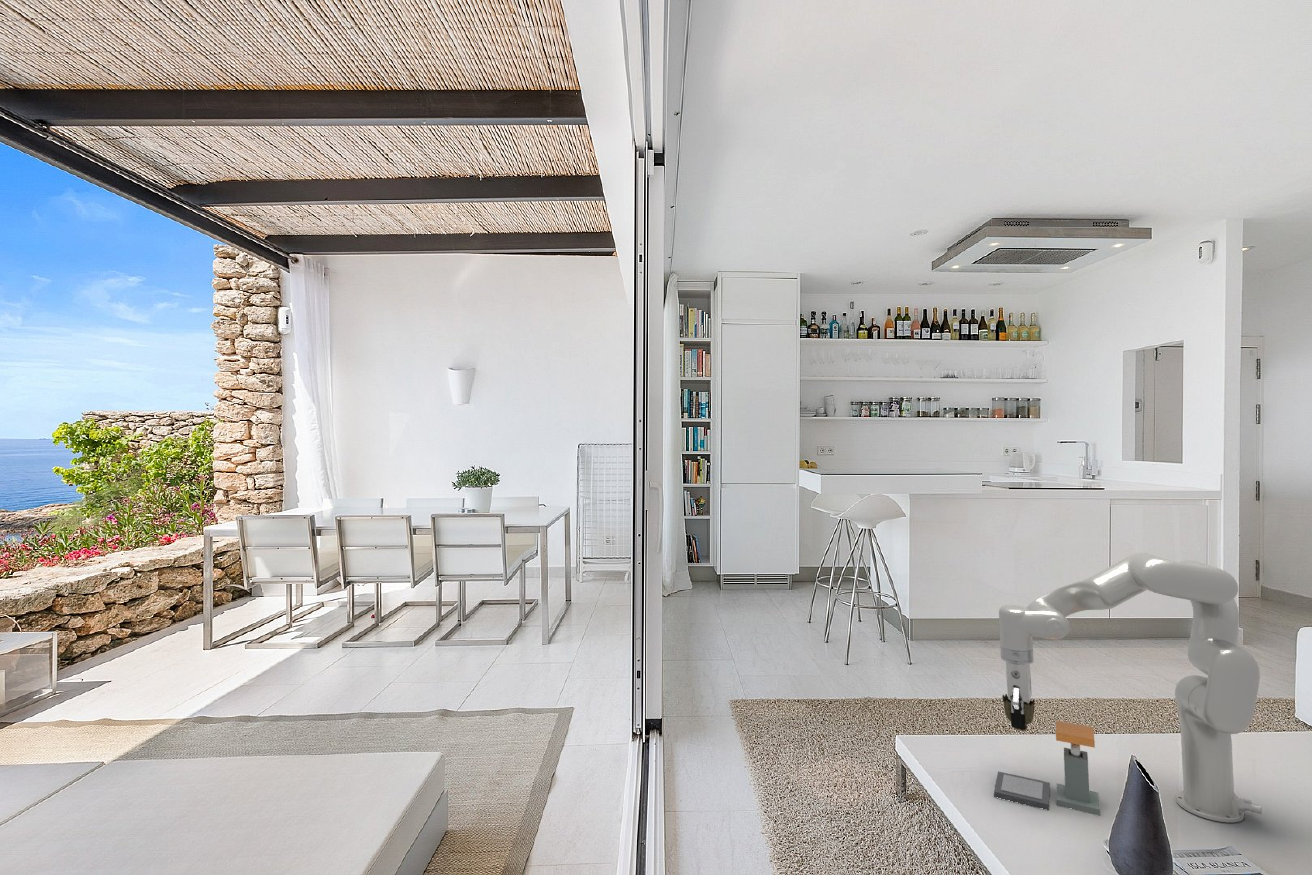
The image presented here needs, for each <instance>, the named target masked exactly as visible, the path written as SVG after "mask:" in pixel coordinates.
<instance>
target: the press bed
mask: <svg viewBox="0 0 1312 875" xmlns="http://www.w3.org/2000/svg"><path fill="white" fill-rule="evenodd" d="M994 797H998V798H1001V799H1000V800H1002V799H1005V800H1004V801H1007V800H1010V801H1009V802H1011V801H1013V802H1012V803H1015V802H1018V803H1017V804H1019V803H1020V804H1021V805H1023V804H1026V805H1025V806H1028V805H1029V806H1028V807H1032V806H1033V808H1037V809H1040V808H1043V809H1042V810H1044V809H1047V810H1046V811H1048V810H1049V811H1050V801H1049V800H1050V799H1051V783H1050V782H1049V781H1044V780H1039V779H1034V778H1031V777H1027V776H1020V775H1018V774H1017V775H1016V774H1011V773H1007V772H1002V771H998V772H997V775H996V779H995V784H994V790H993V798H994ZM998 798H997V799H998Z"/></svg>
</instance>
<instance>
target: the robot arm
mask: <svg viewBox="0 0 1312 875" xmlns="http://www.w3.org/2000/svg"><path fill="white" fill-rule="evenodd" d="M1146 591H1149V592H1152V593H1153V594H1154V593H1155V594H1158V595H1162V596H1167V597H1170V598H1176V599H1181V600H1187V601H1190V604H1191V607H1192V613H1193V614H1192V615H1193V616H1192V623H1191V624H1192V625H1191V630H1190V636H1189V642H1188V643H1189V644H1188V648H1187V657H1188V660H1189V662H1190V664H1192V666H1194V667H1195V668H1196V669H1197V670H1199V671H1200V672H1202V673H1203V674H1205V675H1207V677H1205V676H1202V675H1187V676H1184V677H1183V678H1181V679H1180V680H1179V681H1178V682H1177V683H1176V685H1175V689H1174V697H1175V699H1174V700H1175V703H1176V708H1177V711H1178V717H1179V725H1180V743H1181V744H1180V746H1181V764H1182V765H1181V766H1182V768H1181V769H1182V786H1183V790H1181V791H1178V792H1177V793H1176V794H1175V801H1176V803H1177V804H1178V806H1180V807H1181V808H1183V809H1184V810H1185V811H1186V812H1189V813H1191V814H1193V815H1195V816H1197V817H1200V818H1202V819H1203V818H1204V819H1207V820H1209V821H1215V822H1220V823H1226V824H1227V823H1231V824H1233V823H1238V822H1241V821H1243V820H1244V818H1245V816H1244V815H1245V813H1244V812H1245V811H1247V812H1250V813H1254V814H1258V815H1262V814H1263V810H1262V806H1261V805H1260V804H1256V803H1253V802H1252V799H1246V798H1241V797H1240V798H1239V796H1237V794H1236V793H1235V787H1234V786H1235V784H1234V783H1235V782H1234V780H1235V779H1234V767H1233V766H1234V764H1233V763H1234V762H1233V741H1232V735H1238V734H1241V733H1243V732H1245V731H1246V730H1247V729H1248V728H1249V727H1250V726H1251V724H1252V721H1253V719H1254V715H1255V712H1256V711H1255V710H1256V704H1257V699H1258V692H1259V688H1260V687H1259V686H1260V678H1261V672H1260V667H1259V664H1258V662H1257V661H1256V658H1255V657H1254V656H1253V654H1251V653H1250V652H1249V651H1248V650H1246V649H1245V648H1243V647H1241V646H1240V645H1238V638H1239V628H1240V612H1239V608H1238V604H1237V603H1236V600H1235V598H1236V597H1237V595H1238V593H1239V585H1238V582H1237V580H1236V579H1235V578H1234V576H1233V575H1232V574H1231V573H1229V572H1227V571H1226V570H1223V569H1221V568H1218V567H1215V566H1212V565H1209V564H1207V563H1202V562H1200V561H1196V560H1195V561H1194V560H1182V561H1175V560H1169V559H1166V558H1163V557H1160V556H1156V555H1153V554H1149V553H1146V552H1145V553H1144V552H1137V553H1134V554H1131V555H1129V556H1126V557H1125V558H1123V559H1121V560H1119V561H1118V562H1116V563H1114V564H1111V565H1110V566H1109V567H1106V568H1105V569H1102V571H1099V572H1098V573H1097V572H1096V574H1094V575H1092V576H1090V577H1088V578H1086V579H1083V580H1080V581H1076V582H1074V583H1071V584H1067V585H1064V586H1059V587H1057V588H1056V589H1053V590H1051V591H1049V592H1047V593H1046V594H1044V595H1042V596H1040V597H1038V598H1037V599H1034V600H1033V601H1031V602H1030V603H1029V604H1027V607H1025V606H1022V605H1017V604H1006V605H1001V607H1000V608H999V609H998V620H999V621H998V622H999V624H998V625H999V648H1000V649H999V650H1000V659H1001V660H1002V661H1004V662H1005V672H1006V673H1005V675H1006V690H1007V696H1008V699H1009V700H1010V701H1011V721H1010V724H1011V728H1013V729H1014V728H1018V729H1024V730H1025V729H1026V722H1025V713H1024V702H1027V703H1029V702H1030V700H1031V699H1032V696H1033V695H1032V694H1033V692H1032V691H1033V690H1032V680H1031V679H1032V678H1031V675H1032V674H1031V666H1030V664H1033V663H1034V661H1035V660H1034V645H1033V643H1034V642H1033V637H1036V638H1040V639H1046V640H1061V639H1063V638H1064V637H1066V636H1067V635H1068V633H1069V632H1070V627H1071V626H1070V622H1069V621H1068V618H1067V617H1069V616H1071V615H1073V614H1076V613H1079V612H1084V611H1094V610H1095V611H1102V610H1103V611H1105V610H1111V609H1114V608H1116V607H1118V606H1120V605H1122V604H1124V602H1127V601H1129V600H1131V599H1133V598H1134V597H1136V596H1138V595H1141V594H1142V593H1144V592H1146ZM1019 698H1021V699H1022V701H1020V700H1019ZM1031 701H1032V700H1031ZM1019 703H1021V706H1020V705H1019ZM1025 731H1026V730H1025Z"/></svg>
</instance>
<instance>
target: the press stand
mask: <svg viewBox="0 0 1312 875" xmlns="http://www.w3.org/2000/svg"><path fill="white" fill-rule="evenodd" d="M1080 756H1081V757H1077V756H1072V755H1071V748H1068V747H1063V763H1064V764H1063V765H1064V784H1061V783H1058V782H1057V783H1056V787H1055V788H1056V790H1055V791H1056V792H1055V795H1056V796H1055V804H1056V805H1057V806H1056V807H1061V808H1065V809H1069V808H1072V809H1071V810H1073V809H1075V810H1074V811H1078V810H1079V811H1078V812H1082V813H1086V812H1088V813H1087V814H1092V815H1095V816H1100V817H1101V806H1100V805H1101V804H1100V796H1099V795H1100V794H1099V791H1095V790H1090V780H1089V778H1090V777H1089V775H1090V774H1089V758H1088V757H1089V756H1088V751H1086V750H1084V751H1083V750H1080Z"/></svg>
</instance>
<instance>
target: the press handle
mask: <svg viewBox="0 0 1312 875" xmlns="http://www.w3.org/2000/svg"><path fill="white" fill-rule="evenodd" d="M1094 730H1095V729H1094V726H1090V725H1082V724H1078V723H1072V722H1066V721H1061V720H1055V740H1056V741H1057V742H1058V741H1059V742H1062V743H1068V744H1070V749H1071V755H1072V756H1077V757H1081V756H1080V751H1081V746H1085V747H1090V748H1093V749H1094V748H1096V745H1095V742H1096V741H1095V731H1094Z"/></svg>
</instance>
